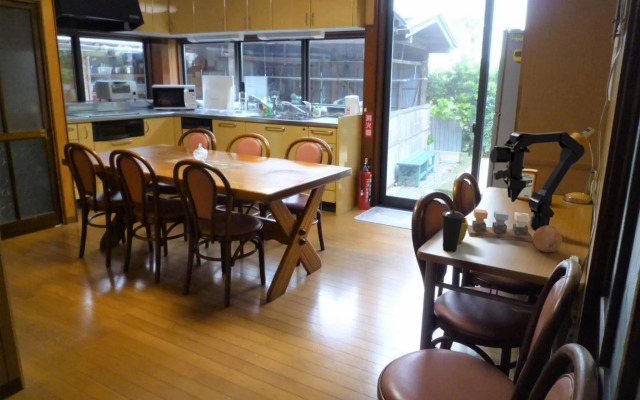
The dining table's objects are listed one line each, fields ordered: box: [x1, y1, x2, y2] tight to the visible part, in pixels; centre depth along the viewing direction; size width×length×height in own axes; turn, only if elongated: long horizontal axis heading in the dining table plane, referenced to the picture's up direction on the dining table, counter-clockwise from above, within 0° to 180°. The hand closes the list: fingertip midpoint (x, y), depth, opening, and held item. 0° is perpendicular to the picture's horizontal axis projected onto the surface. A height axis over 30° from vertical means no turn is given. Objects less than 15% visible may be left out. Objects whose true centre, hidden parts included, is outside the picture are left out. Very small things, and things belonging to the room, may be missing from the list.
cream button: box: [513, 211, 531, 228], centre depth 191 cm, size 5×5×5 cm
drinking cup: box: [441, 196, 465, 253], centre depth 173 cm, size 8×8×20 cm
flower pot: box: [458, 216, 469, 245], centre depth 183 cm, size 9×9×9 cm
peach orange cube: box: [473, 208, 489, 224], centre depth 194 cm, size 5×5×5 cm
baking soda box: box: [516, 168, 539, 201], centre depth 255 cm, size 10×6×16 cm
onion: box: [532, 224, 563, 253], centre depth 176 cm, size 10×10×10 cm
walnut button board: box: [467, 219, 534, 242], centre depth 194 cm, size 24×10×4 cm, turn 79°
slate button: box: [493, 210, 510, 226], centre depth 193 cm, size 5×5×5 cm
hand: (511, 199), depth 199 cm, fingers open, 7 cm apart
